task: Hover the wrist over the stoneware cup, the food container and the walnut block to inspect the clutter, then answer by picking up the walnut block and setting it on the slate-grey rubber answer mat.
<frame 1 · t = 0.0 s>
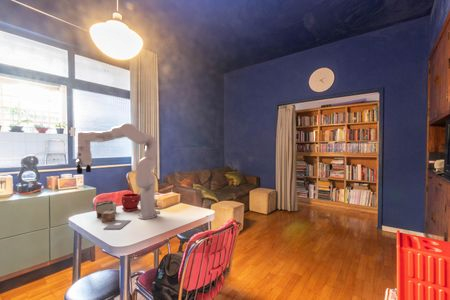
hand: (84, 172, 153), 31 cm above the table, fingers open, 9 cm apart
food container: (102, 216, 156), on the table
walnut block: (108, 221, 145), on the table
answer mat: (117, 225, 137), on the table
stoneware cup: (111, 212, 163), on the table
plant pot: (130, 210, 171), on the table
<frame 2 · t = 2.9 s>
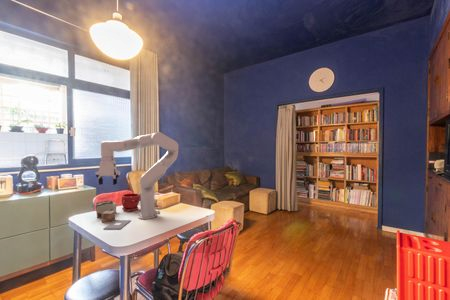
hand: (107, 184, 146), 24 cm above the table, fingers open, 9 cm apart
nothing on the table moved.
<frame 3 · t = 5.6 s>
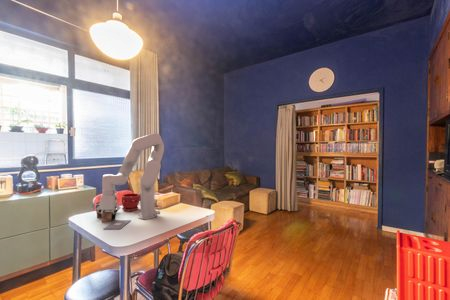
hand: (108, 219, 145), 1 cm above the table, fingers closed on walnut block, 6 cm apart
walnut block: (108, 221, 145), on the table, touching gripper
everything else where it was.
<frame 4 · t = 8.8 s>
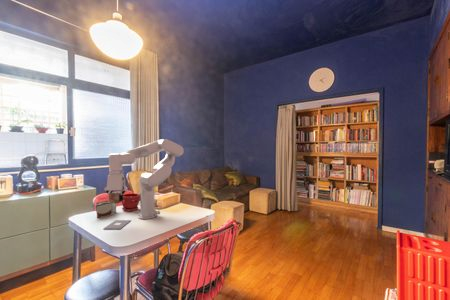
hand: (116, 200, 139), 15 cm above the table, fingers closed on walnut block, 6 cm apart
walnut block: (116, 202, 139), point 14 cm above the table, touching gripper
everything else where it was.
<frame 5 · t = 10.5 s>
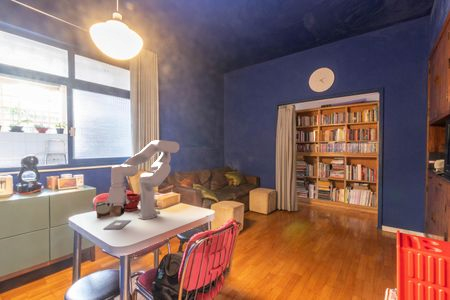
hand: (117, 213, 137), 8 cm above the table, fingers closed on walnut block, 6 cm apart
walnut block: (117, 215, 137), point 6 cm above the table, touching gripper
everything else where it was.
when the fingers open (3 cm above the table, at t = 11.8 s): walnut block drops 1 cm, resting on answer mat.
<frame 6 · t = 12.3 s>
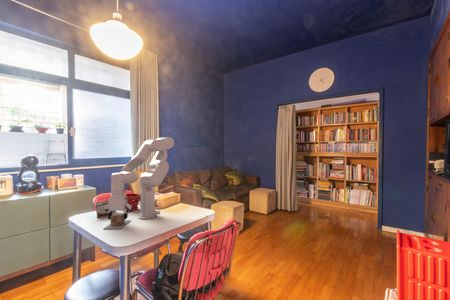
hand: (117, 219, 137), 4 cm above the table, fingers open, 9 cm apart
walnut block: (117, 223, 137), point 1 cm above the table, touching answer mat
everything else where it was.
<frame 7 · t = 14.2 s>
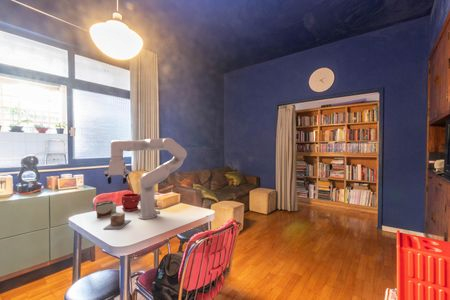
hand: (117, 183, 147), 25 cm above the table, fingers open, 9 cm apart
nothing on the table moved.
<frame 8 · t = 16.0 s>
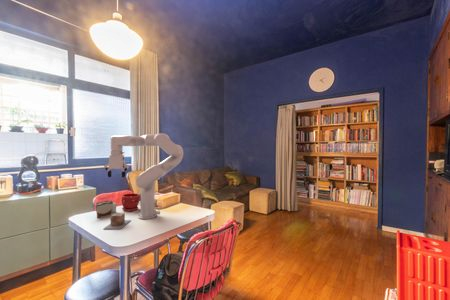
hand: (116, 177, 154), 28 cm above the table, fingers open, 9 cm apart
nothing on the table moved.
at the end: walnut block inside the target area on the answer mat (0.0 cm from its centre), point 0.7 cm above the answer mat's base; walnut block tilted 0°; the gripper is holding nothing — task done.
